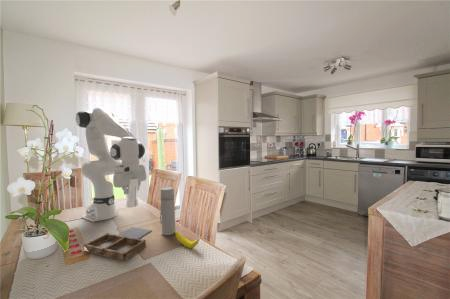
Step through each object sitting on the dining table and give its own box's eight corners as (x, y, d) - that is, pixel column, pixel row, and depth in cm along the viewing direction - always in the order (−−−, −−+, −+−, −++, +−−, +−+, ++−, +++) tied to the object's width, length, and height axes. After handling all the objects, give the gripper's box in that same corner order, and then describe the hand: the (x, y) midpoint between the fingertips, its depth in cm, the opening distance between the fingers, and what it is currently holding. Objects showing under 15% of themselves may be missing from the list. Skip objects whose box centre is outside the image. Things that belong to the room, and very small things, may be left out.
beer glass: (127, 204, 119) (127, 177, 118) (140, 203, 119) (140, 177, 119) (123, 207, 112) (122, 179, 111) (136, 207, 112) (136, 179, 112)
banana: (177, 239, 110) (177, 227, 110) (201, 251, 97) (201, 238, 97) (172, 241, 108) (172, 228, 108) (196, 254, 95) (196, 240, 95)
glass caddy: (84, 251, 100) (83, 245, 100) (107, 238, 112) (107, 233, 112) (124, 260, 91) (124, 254, 91) (145, 246, 103) (145, 240, 103)
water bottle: (178, 231, 119) (177, 187, 118) (169, 237, 112) (167, 190, 110) (165, 228, 123) (164, 186, 121) (156, 234, 116) (154, 189, 114)
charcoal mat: (115, 237, 114) (115, 236, 113) (132, 228, 125) (132, 227, 125) (135, 241, 109) (135, 240, 109) (151, 231, 120) (151, 230, 120)
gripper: (139, 164, 125) (140, 187, 126) (110, 169, 106) (111, 196, 107) (148, 164, 123) (149, 187, 124) (120, 169, 104) (121, 197, 105)
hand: (131, 192), depth 115 cm, fingers closed on beer glass, 6 cm apart
